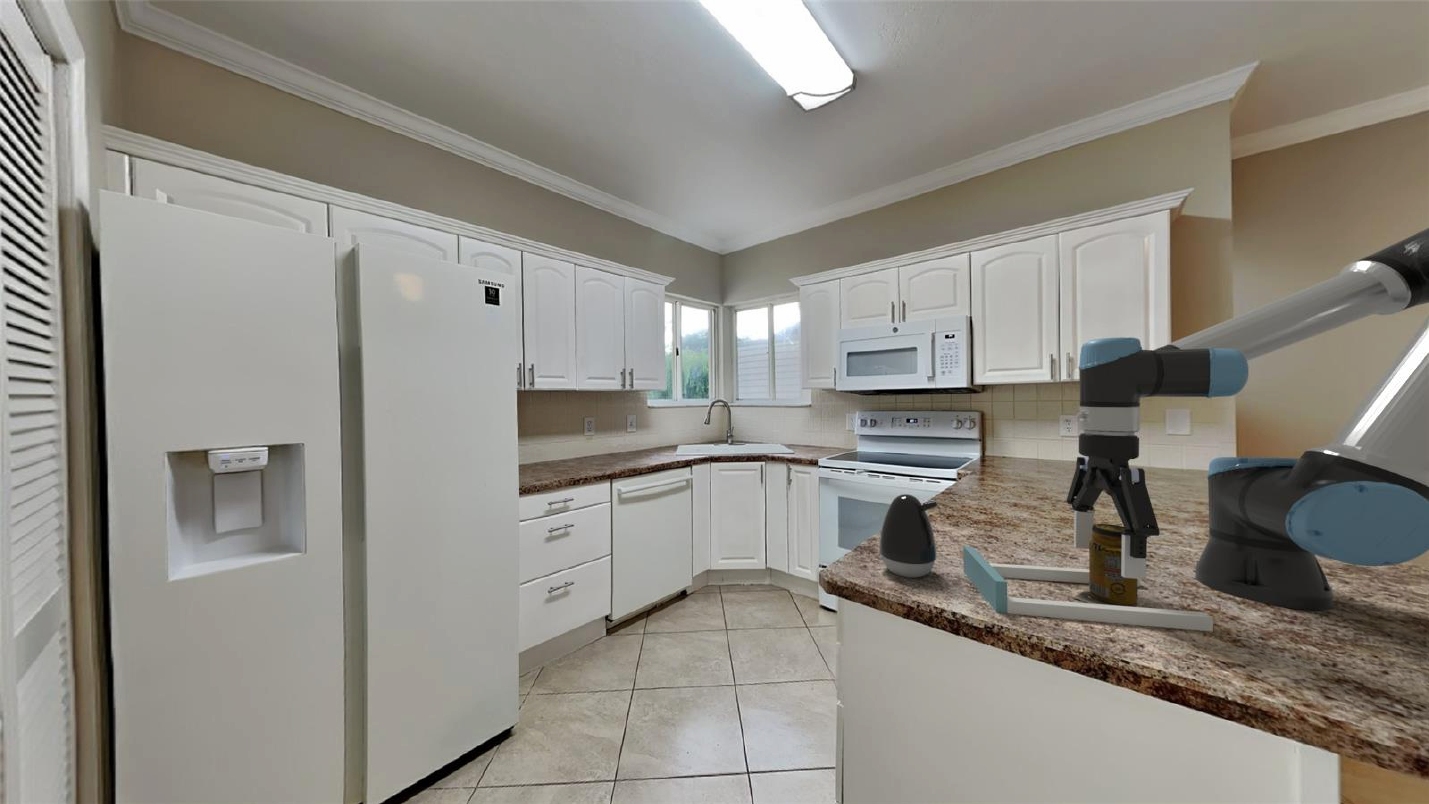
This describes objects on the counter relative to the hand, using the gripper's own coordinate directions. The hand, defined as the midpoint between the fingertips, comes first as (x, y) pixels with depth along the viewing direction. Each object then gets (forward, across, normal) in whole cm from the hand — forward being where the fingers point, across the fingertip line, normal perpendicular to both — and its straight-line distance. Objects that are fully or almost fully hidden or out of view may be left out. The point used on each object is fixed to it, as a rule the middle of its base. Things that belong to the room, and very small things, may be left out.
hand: (1106, 561), depth 75 cm
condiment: (+7, 0, +1) cm, 7 cm away
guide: (+6, 0, -4) cm, 8 cm away
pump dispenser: (+7, -6, -29) cm, 31 cm away
